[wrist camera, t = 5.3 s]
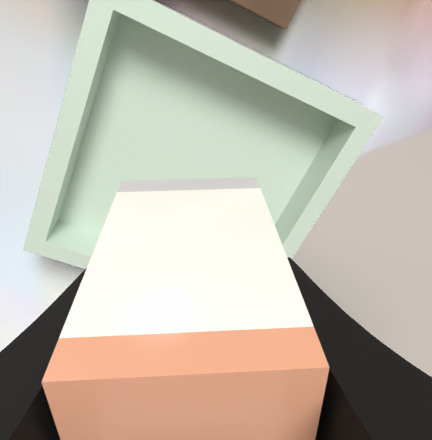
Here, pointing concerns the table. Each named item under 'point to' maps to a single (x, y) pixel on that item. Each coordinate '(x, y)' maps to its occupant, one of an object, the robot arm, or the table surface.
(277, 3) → the clip board
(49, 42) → the table surface
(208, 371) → the white and orange block
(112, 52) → the tray
